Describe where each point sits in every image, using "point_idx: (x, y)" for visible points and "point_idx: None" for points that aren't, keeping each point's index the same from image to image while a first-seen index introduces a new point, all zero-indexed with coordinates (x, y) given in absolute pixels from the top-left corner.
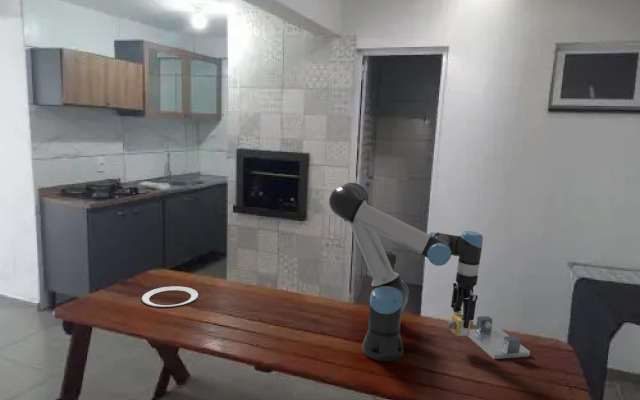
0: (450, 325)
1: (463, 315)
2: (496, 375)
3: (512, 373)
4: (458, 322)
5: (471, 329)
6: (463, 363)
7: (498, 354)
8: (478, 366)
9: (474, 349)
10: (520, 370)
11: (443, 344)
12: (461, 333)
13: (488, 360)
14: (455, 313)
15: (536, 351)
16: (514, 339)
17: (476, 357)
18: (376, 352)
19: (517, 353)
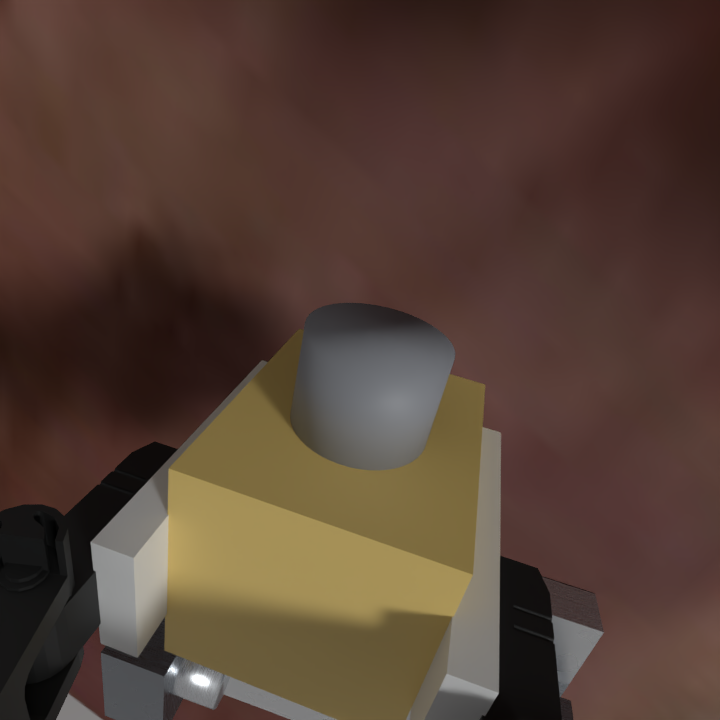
0: (349, 328)
1: (16, 636)
2: (9, 310)
3: (30, 422)
4: (194, 446)
5: (579, 664)
6: (186, 200)
7: None
8: (127, 286)
9: None
10: (59, 487)
11: (553, 284)
12: (245, 385)
13: (191, 420)
14: (441, 662)
15: (225, 706)
16: (113, 692)
17: None
18: None
19: None
